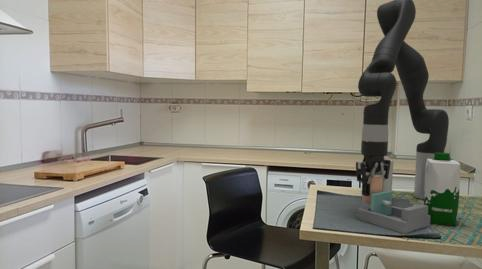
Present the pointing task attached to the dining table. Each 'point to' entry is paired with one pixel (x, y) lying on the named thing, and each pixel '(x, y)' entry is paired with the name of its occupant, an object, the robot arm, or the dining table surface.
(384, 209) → the plate
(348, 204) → the dining table surface
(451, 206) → the milk carton
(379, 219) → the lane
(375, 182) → the jar
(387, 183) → the skincare box
